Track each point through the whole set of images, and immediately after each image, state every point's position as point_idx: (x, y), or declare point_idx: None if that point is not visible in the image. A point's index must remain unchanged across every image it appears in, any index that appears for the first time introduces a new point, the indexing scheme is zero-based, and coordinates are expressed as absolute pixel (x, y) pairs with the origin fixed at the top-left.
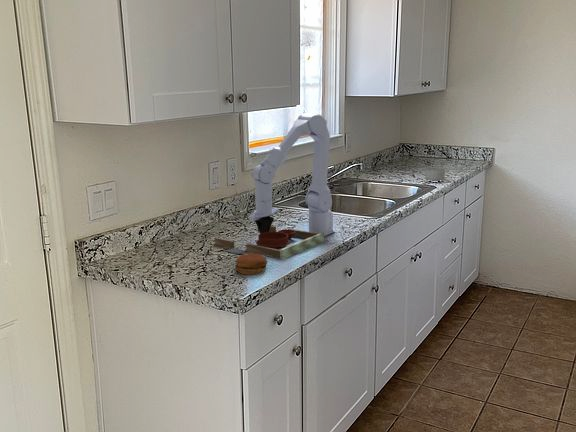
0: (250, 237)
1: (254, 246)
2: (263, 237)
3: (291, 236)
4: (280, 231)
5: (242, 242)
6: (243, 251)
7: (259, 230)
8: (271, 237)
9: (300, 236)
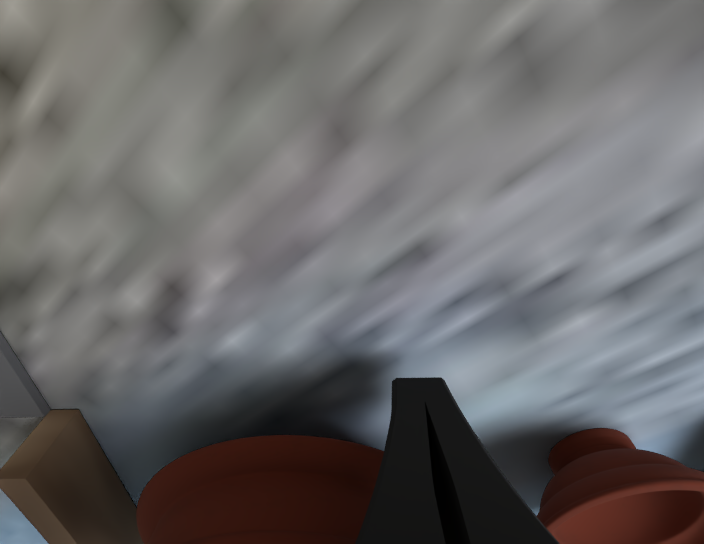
0: (528, 73)
1: (48, 535)
2: (301, 490)
3: (580, 537)
4: (668, 478)
5: (227, 169)
6: (7, 414)
7: (380, 468)
8: None
9: None
